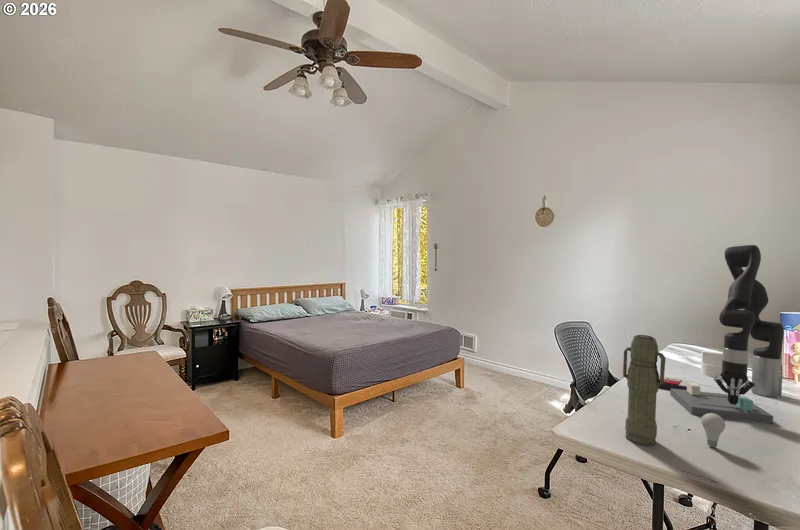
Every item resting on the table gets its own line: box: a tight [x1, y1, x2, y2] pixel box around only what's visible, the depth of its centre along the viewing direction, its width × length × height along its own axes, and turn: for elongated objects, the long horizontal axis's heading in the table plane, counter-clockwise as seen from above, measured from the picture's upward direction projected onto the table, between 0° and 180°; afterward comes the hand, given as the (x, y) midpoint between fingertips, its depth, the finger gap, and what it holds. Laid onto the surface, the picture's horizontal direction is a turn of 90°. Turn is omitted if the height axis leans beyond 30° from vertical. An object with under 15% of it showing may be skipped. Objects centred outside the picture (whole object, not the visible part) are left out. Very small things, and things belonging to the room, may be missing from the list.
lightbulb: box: [700, 413, 726, 449], centre depth 127 cm, size 6×6×11 cm
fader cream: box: [687, 381, 701, 396], centre depth 168 cm, size 3×5×4 cm, turn 164°
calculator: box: [658, 375, 695, 391], centre depth 184 cm, size 11×4×15 cm
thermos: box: [622, 334, 666, 447], centre depth 130 cm, size 9×12×35 cm
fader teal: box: [736, 395, 754, 411], centre depth 152 cm, size 3×5×4 cm, turn 163°
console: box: [669, 389, 774, 424], centre depth 160 cm, size 26×22×3 cm
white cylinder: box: [700, 350, 723, 378], centre depth 206 cm, size 9×9×12 cm
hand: (732, 403), depth 153 cm, fingers closed
